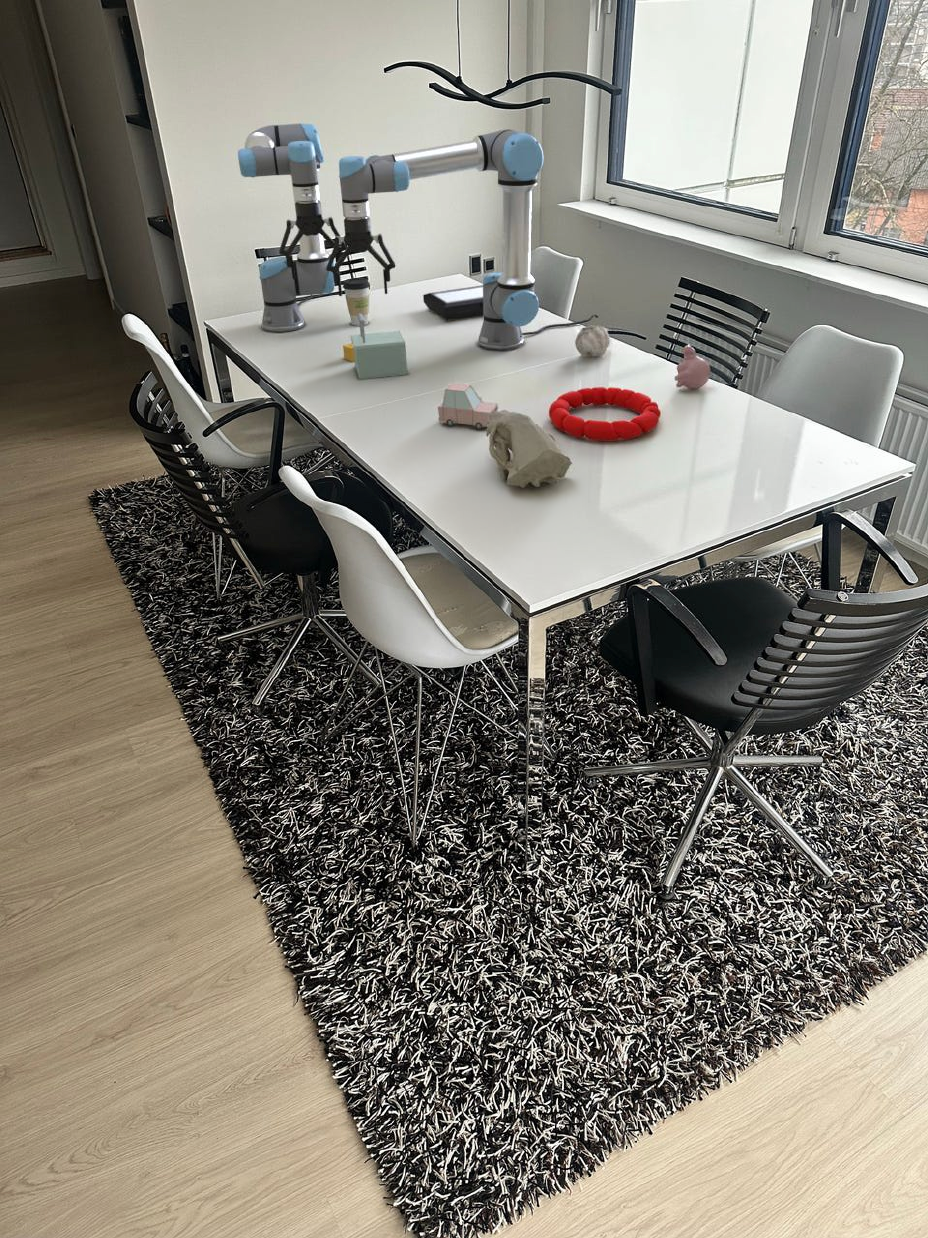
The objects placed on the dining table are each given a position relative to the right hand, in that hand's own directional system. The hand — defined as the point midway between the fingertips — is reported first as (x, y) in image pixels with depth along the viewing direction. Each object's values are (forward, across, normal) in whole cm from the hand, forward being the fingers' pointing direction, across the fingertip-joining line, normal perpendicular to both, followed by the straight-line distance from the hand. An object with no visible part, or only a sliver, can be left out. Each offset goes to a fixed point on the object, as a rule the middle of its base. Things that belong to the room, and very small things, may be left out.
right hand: (363, 293), depth 267 cm
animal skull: (+25, +38, -76) cm, 88 cm away
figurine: (+25, +95, -27) cm, 101 cm away
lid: (+15, +3, +3) cm, 16 cm away
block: (+25, -6, +17) cm, 31 cm away
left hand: (-3, -14, +10) cm, 18 cm away
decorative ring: (+25, +65, -48) cm, 84 cm away
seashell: (+25, +72, +7) cm, 77 cm away
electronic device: (+25, +38, +66) cm, 80 cm away
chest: (+25, +3, +3) cm, 25 cm away
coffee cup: (+25, -5, +57) cm, 62 cm away
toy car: (+25, +28, -44) cm, 58 cm away
